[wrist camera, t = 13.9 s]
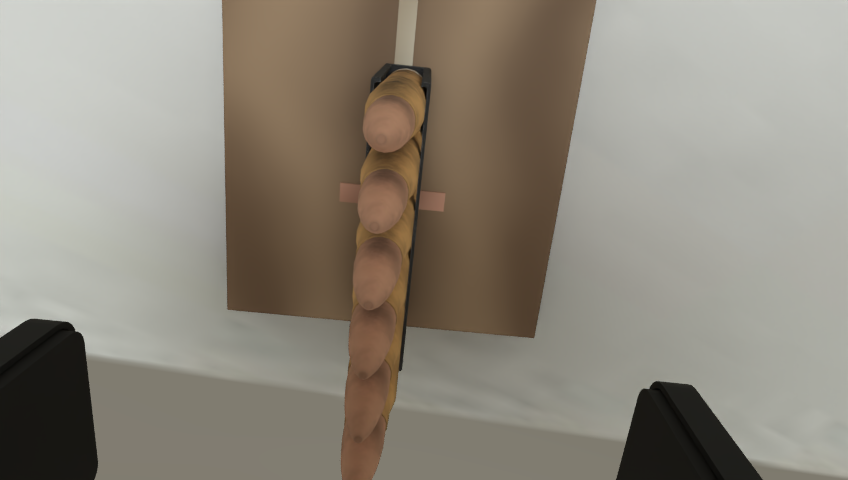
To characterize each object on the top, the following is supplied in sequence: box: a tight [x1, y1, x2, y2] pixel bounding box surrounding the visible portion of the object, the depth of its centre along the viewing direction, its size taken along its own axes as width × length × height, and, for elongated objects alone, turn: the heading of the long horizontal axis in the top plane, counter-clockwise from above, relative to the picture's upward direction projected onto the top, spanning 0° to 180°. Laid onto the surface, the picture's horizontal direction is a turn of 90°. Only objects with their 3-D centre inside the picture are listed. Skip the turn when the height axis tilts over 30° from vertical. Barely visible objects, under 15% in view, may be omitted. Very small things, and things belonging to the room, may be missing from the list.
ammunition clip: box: [341, 63, 431, 480], centre depth 18 cm, size 11×2×12 cm, turn 174°
